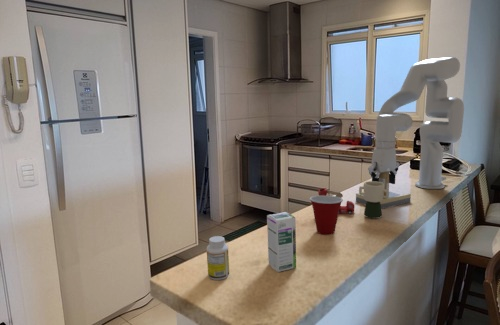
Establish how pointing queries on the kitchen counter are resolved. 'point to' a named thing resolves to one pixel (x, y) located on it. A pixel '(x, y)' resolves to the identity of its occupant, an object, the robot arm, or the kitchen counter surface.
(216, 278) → the supplement bottle
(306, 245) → the kitchen counter surface
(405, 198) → the tray
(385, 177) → the sprinkles bottle
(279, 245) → the syrup box
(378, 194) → the character mug
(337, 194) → the toy fire truck
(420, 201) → the kitchen counter surface
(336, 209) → the plastic cup
